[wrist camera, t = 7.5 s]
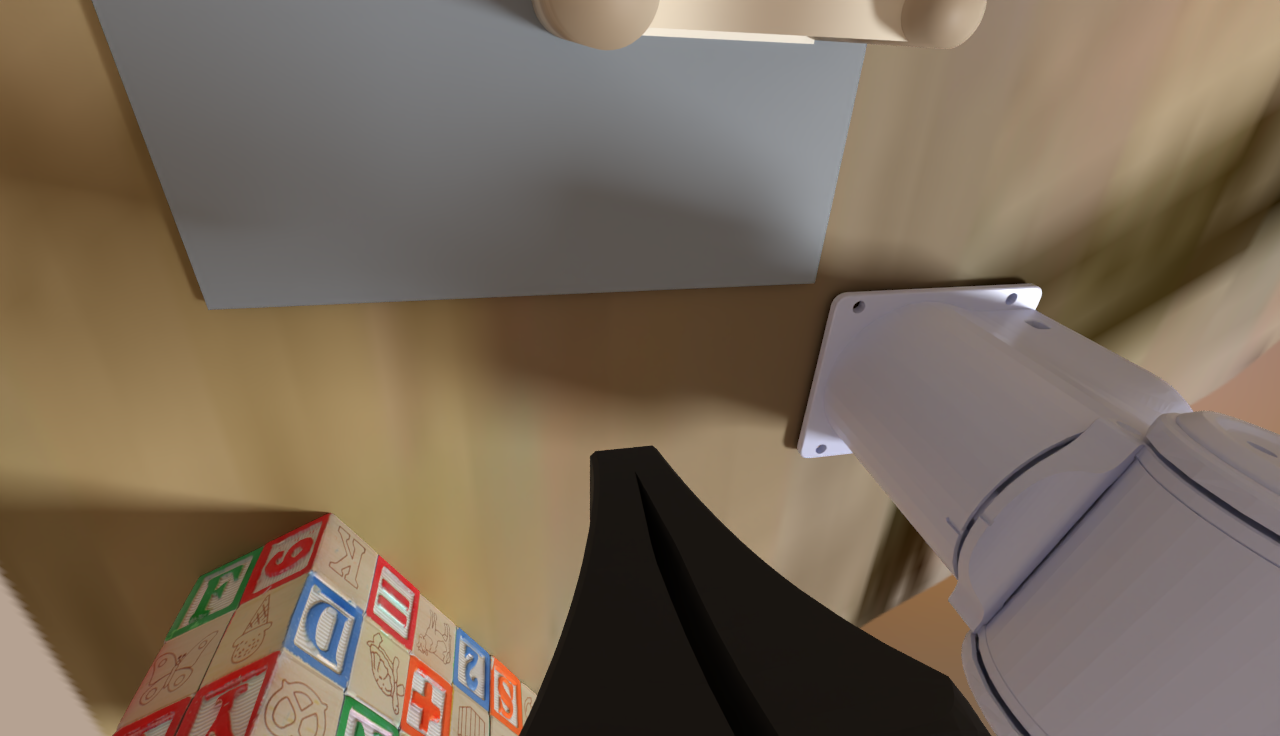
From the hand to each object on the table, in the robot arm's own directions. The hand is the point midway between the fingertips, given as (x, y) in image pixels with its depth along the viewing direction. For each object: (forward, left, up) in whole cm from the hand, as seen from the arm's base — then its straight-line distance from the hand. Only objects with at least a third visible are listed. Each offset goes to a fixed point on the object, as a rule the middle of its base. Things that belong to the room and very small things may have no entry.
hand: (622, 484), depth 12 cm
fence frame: (-3, -9, -9) cm, 13 cm away
